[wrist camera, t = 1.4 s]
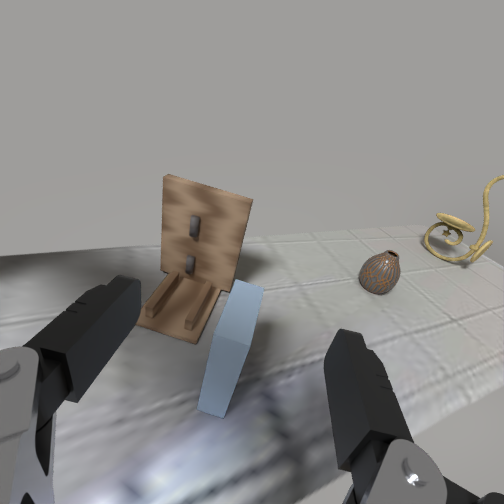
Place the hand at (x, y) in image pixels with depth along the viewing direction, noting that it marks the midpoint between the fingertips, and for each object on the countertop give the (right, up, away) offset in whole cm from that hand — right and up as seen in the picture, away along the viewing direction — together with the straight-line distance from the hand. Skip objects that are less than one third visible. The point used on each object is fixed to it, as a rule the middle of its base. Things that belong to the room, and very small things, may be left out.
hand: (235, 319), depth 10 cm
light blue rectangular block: (-3, -13, +20) cm, 24 cm away
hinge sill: (-10, -5, +27) cm, 30 cm away
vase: (+25, -5, +43) cm, 50 cm away
